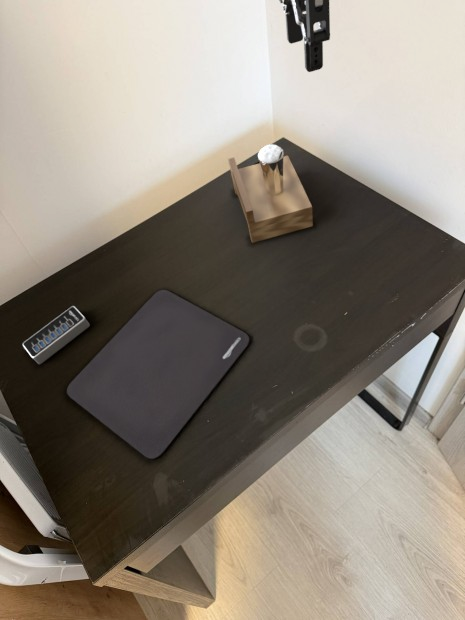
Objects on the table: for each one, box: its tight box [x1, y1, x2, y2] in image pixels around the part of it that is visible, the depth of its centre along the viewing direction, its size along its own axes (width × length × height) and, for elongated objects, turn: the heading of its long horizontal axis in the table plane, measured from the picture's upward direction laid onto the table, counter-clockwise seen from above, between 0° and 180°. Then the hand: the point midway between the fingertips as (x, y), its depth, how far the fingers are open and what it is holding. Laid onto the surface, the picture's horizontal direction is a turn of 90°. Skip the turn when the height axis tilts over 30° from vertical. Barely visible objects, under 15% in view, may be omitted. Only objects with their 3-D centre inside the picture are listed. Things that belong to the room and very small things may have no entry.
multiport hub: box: [22, 305, 91, 365], centre depth 84 cm, size 4×11×2 cm, turn 133°
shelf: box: [227, 155, 314, 244], centre depth 92 cm, size 12×16×8 cm
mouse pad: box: [66, 289, 250, 460], centre depth 78 cm, size 25×21×1 cm
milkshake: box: [257, 143, 285, 195], centre depth 86 cm, size 5×5×10 cm
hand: (304, 54), depth 65 cm, fingers open, 8 cm apart
